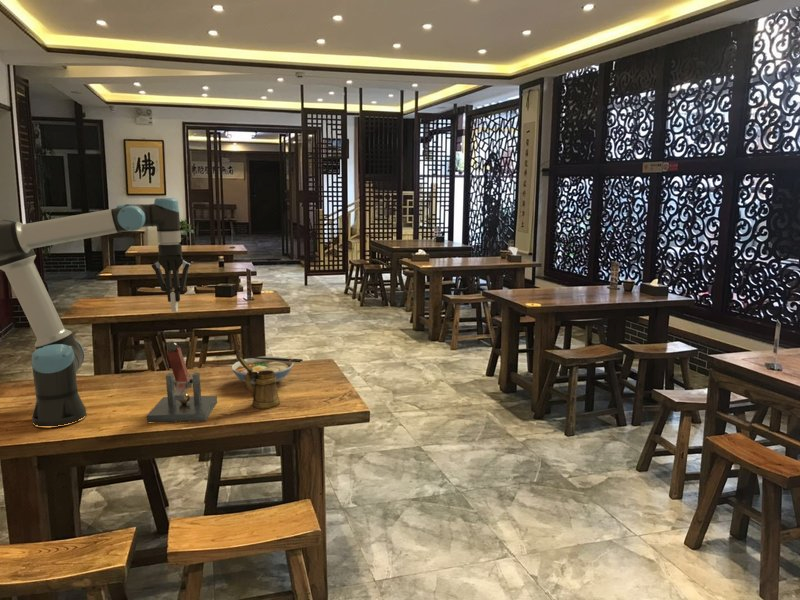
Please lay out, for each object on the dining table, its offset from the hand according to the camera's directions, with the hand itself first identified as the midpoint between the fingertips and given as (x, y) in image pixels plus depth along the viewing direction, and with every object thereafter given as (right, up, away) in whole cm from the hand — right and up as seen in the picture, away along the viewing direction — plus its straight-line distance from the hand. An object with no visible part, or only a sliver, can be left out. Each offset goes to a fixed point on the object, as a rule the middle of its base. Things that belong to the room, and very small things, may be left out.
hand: (174, 310), depth 215 cm
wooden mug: (+31, -32, -6) cm, 45 cm away
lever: (+7, -26, -13) cm, 30 cm away
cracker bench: (+8, -33, -13) cm, 36 cm away
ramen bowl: (+27, -28, +17) cm, 43 cm away
